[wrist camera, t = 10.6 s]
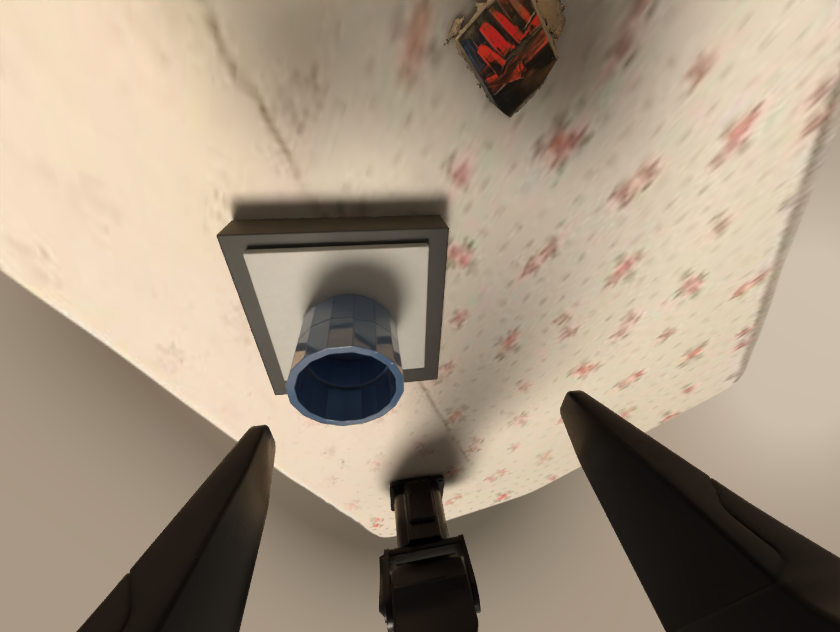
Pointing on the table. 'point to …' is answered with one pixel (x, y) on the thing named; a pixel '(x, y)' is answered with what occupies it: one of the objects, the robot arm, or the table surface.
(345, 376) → the small cup
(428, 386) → the table surface
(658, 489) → the robot arm
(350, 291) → the kitchen scale
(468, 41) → the red black picture tile
